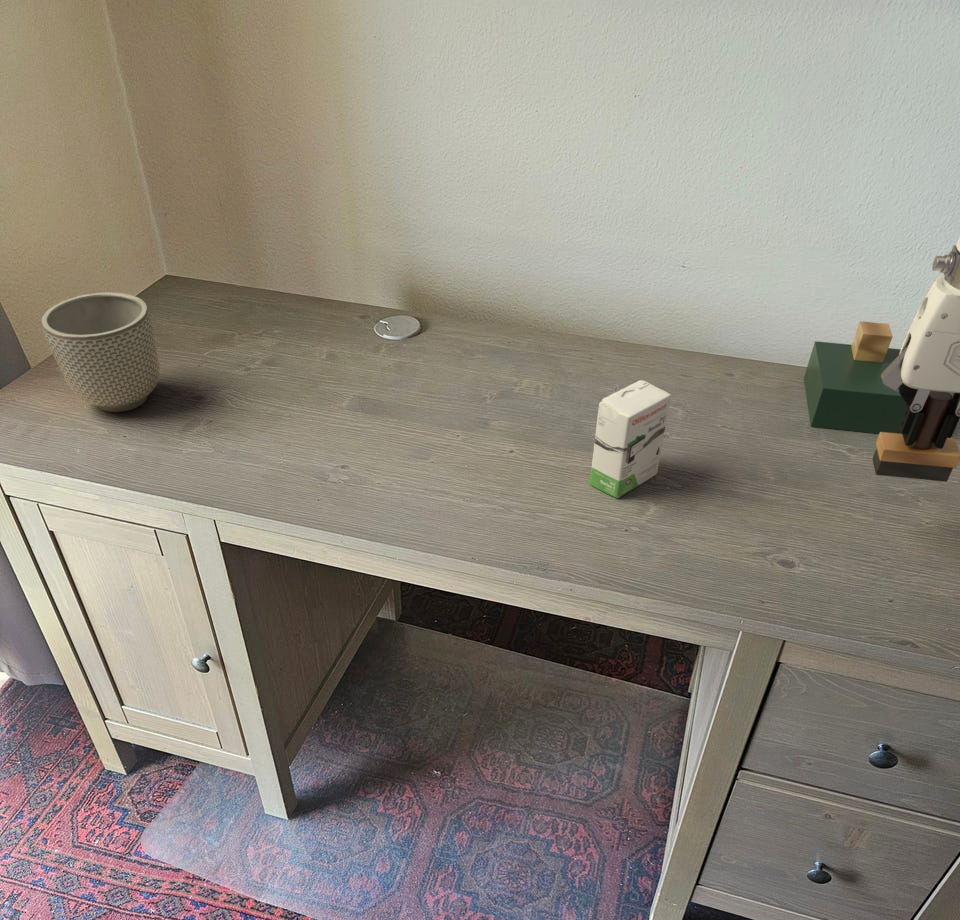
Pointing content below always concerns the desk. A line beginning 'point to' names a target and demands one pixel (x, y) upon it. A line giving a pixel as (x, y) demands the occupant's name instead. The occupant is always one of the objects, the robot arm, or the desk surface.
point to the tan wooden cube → (871, 342)
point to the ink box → (629, 438)
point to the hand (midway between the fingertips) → (921, 439)
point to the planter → (105, 348)
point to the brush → (919, 447)
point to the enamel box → (851, 391)
